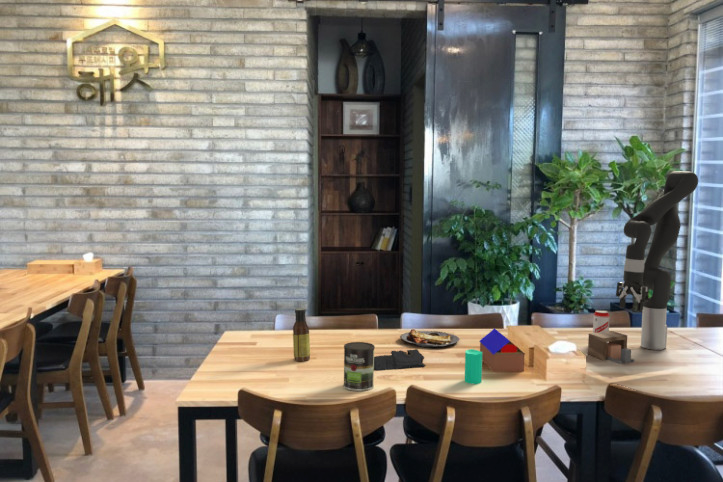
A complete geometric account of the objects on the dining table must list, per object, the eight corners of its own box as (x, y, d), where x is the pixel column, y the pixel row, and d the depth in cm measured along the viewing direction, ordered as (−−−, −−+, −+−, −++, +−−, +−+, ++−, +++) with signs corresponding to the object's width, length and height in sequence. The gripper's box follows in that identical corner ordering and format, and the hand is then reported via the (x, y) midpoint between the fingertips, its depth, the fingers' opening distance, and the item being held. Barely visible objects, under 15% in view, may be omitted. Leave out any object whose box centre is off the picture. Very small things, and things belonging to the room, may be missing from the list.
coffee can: (367, 393, 222) (368, 350, 221) (338, 389, 226) (339, 347, 224) (378, 384, 232) (378, 343, 230) (350, 380, 235) (350, 340, 234)
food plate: (392, 344, 284) (393, 336, 284) (410, 333, 306) (410, 325, 305) (450, 352, 275) (451, 344, 275) (464, 340, 296) (464, 332, 296)
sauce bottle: (312, 358, 262) (312, 308, 260) (306, 362, 256) (306, 311, 254) (297, 357, 264) (297, 306, 262) (290, 361, 258) (290, 309, 256)
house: (492, 372, 247) (493, 341, 246) (478, 357, 267) (479, 328, 266) (525, 372, 248) (526, 340, 247) (508, 357, 268) (509, 328, 267)
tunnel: (610, 355, 271) (611, 330, 270) (626, 360, 264) (627, 335, 263) (587, 358, 266) (588, 333, 265) (602, 363, 259) (603, 338, 258)
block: (610, 354, 266) (611, 342, 266) (620, 358, 262) (621, 345, 261) (601, 356, 264) (601, 343, 264) (610, 359, 260) (611, 346, 259)
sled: (605, 354, 270) (606, 340, 269) (634, 364, 257) (635, 348, 256) (592, 356, 267) (593, 341, 266) (620, 366, 254) (621, 350, 253)
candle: (462, 378, 238) (463, 345, 237) (479, 378, 239) (480, 345, 238) (466, 384, 232) (467, 349, 231) (483, 383, 233) (484, 349, 232)
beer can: (609, 351, 277) (611, 313, 275) (593, 350, 278) (594, 312, 276) (606, 347, 283) (608, 310, 281) (591, 347, 284) (592, 309, 282)
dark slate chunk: (361, 361, 260) (361, 349, 260) (414, 357, 267) (414, 345, 267) (373, 373, 246) (374, 360, 246) (429, 368, 253) (430, 355, 252)
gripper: (655, 272, 270) (651, 312, 271) (626, 267, 283) (623, 306, 284) (641, 272, 267) (638, 313, 268) (613, 268, 279) (610, 306, 281)
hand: (630, 309), depth 276 cm, fingers open, 8 cm apart
